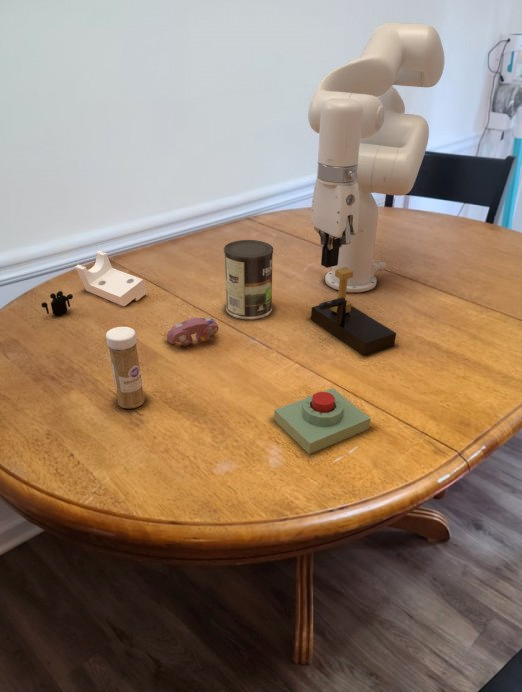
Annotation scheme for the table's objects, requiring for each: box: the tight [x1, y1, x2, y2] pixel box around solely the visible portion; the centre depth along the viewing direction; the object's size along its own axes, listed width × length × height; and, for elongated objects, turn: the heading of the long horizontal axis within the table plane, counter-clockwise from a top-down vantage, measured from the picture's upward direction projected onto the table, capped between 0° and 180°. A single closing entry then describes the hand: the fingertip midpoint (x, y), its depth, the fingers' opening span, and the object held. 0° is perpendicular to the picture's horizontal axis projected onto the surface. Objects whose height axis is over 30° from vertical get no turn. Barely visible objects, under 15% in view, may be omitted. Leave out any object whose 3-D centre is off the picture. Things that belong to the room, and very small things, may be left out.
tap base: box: [310, 297, 397, 357], centre depth 115 cm, size 13×18×9 cm
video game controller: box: [166, 316, 219, 346], centre depth 111 cm, size 10×5×7 cm, turn 118°
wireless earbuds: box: [41, 290, 74, 316], centre depth 120 cm, size 7×2×5 cm, turn 136°
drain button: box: [312, 391, 335, 413], centre depth 90 cm, size 4×4×2 cm
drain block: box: [273, 388, 372, 455], centre depth 91 cm, size 12×10×4 cm
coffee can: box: [223, 239, 274, 320], centre depth 121 cm, size 10×10×14 cm
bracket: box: [75, 249, 149, 307], centre depth 128 cm, size 13×7×8 cm, turn 54°
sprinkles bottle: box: [105, 326, 146, 410], centre depth 92 cm, size 5×5×14 cm
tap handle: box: [331, 267, 353, 313], centre depth 116 cm, size 3×3×9 cm
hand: (329, 265), depth 117 cm, fingers closed
